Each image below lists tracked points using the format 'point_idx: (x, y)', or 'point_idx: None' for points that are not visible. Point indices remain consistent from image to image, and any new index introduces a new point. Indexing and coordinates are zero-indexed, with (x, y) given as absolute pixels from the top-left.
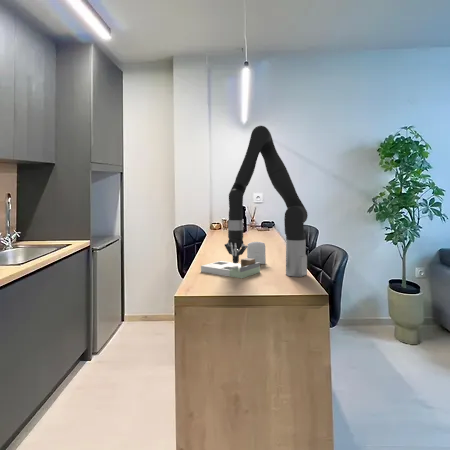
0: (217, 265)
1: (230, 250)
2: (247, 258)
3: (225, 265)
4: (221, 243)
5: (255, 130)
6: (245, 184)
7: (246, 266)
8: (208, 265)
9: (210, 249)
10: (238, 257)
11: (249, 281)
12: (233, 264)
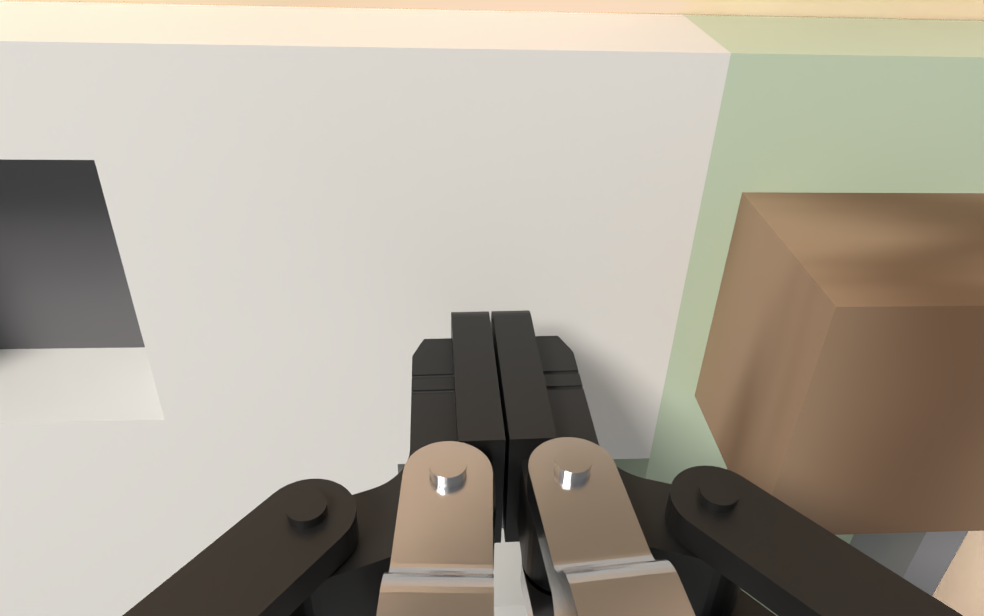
0: (154, 499)
1: (199, 609)
2: (894, 369)
3: (286, 422)
4: None
5: None
6: None
7: (937, 582)
8: (22, 575)
9: None
10: (592, 439)
11: (956, 577)
12: (358, 251)
